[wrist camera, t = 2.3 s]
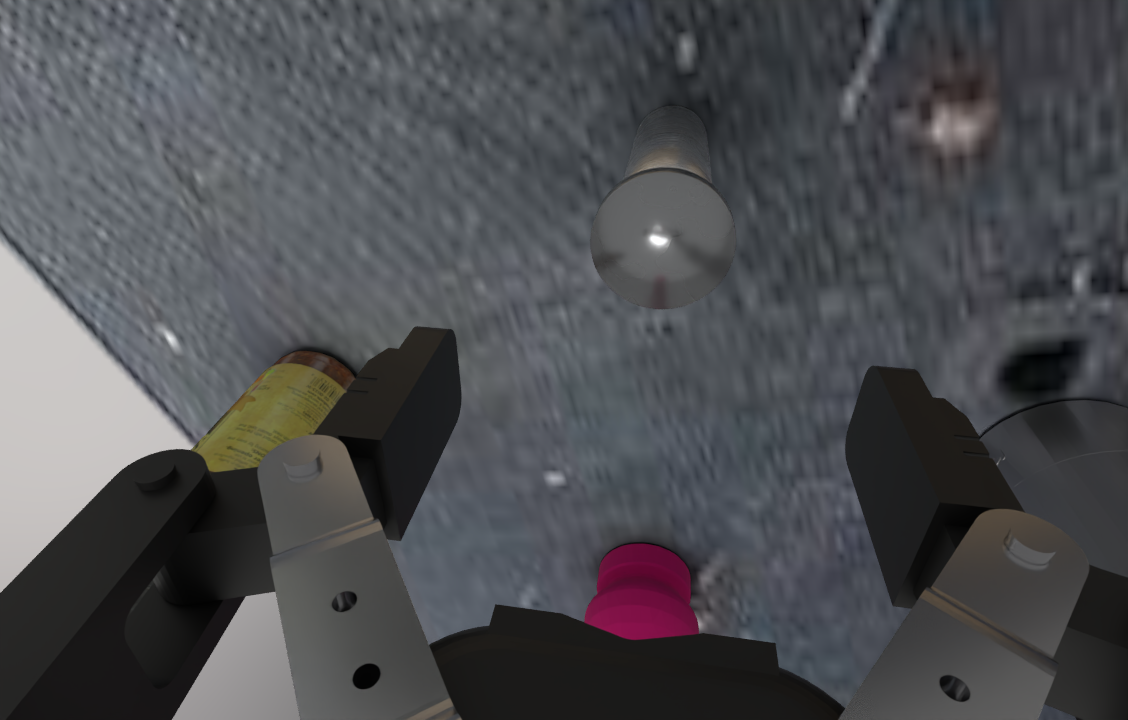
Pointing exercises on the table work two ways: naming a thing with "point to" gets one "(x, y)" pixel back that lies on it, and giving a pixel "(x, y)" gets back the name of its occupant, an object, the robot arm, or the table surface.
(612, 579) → the pepper mill
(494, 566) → the table surface
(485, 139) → the table surface
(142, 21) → the table surface
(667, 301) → the clevis pin
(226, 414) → the sauce bottle
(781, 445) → the table surface
